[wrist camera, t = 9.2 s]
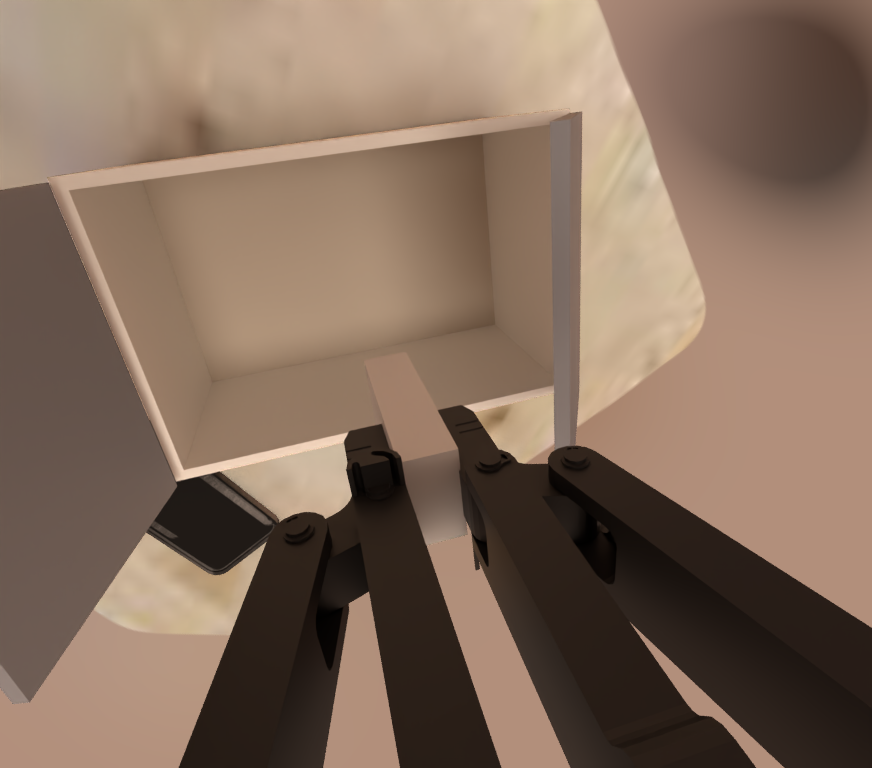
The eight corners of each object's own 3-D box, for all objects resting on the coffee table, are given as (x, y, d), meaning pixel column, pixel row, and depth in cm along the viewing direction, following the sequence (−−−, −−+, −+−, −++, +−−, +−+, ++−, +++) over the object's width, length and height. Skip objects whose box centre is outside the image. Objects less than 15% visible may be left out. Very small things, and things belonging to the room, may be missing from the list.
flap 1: (48, 182, 21) (34, 184, 21) (-324, 242, 11) (-351, 245, 11) (177, 486, 28) (166, 487, 28) (29, 702, 18) (12, 703, 18)
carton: (127, 164, 33) (47, 177, 22) (487, 117, 37) (569, 108, 26) (207, 389, 40) (176, 481, 29) (501, 328, 44) (569, 389, 33)
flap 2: (550, 121, 16) (570, 119, 16) (569, 113, 26) (582, 111, 25) (555, 518, 23) (569, 519, 23) (569, 390, 33) (579, 390, 32)
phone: (144, 418, 39) (284, 528, 46) (148, 412, 40) (284, 520, 47) (66, 481, 39) (216, 580, 46) (71, 473, 40) (218, 571, 47)
